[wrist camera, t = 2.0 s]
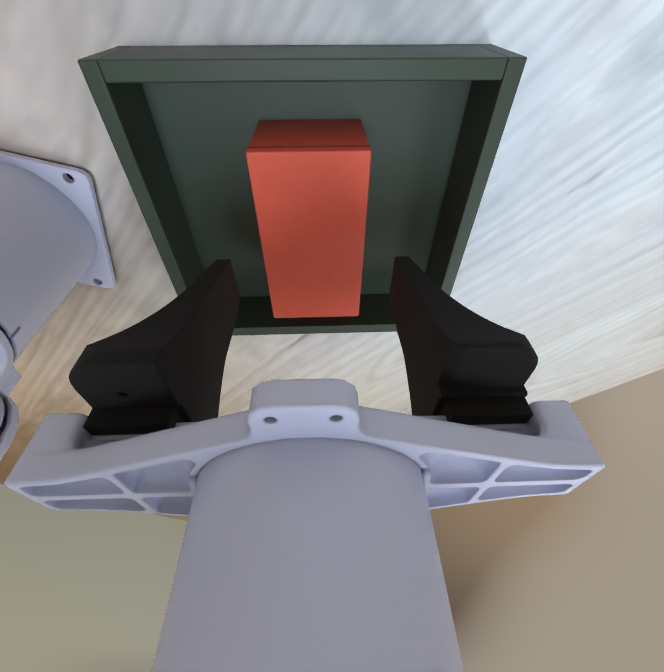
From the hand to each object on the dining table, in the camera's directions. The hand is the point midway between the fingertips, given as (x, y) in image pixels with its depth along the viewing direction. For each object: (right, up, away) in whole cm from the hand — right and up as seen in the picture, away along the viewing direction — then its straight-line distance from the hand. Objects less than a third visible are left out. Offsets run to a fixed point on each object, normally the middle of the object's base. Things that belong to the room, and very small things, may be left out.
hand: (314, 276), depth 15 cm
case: (0, +5, +5) cm, 7 cm away
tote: (0, +5, +5) cm, 7 cm away
